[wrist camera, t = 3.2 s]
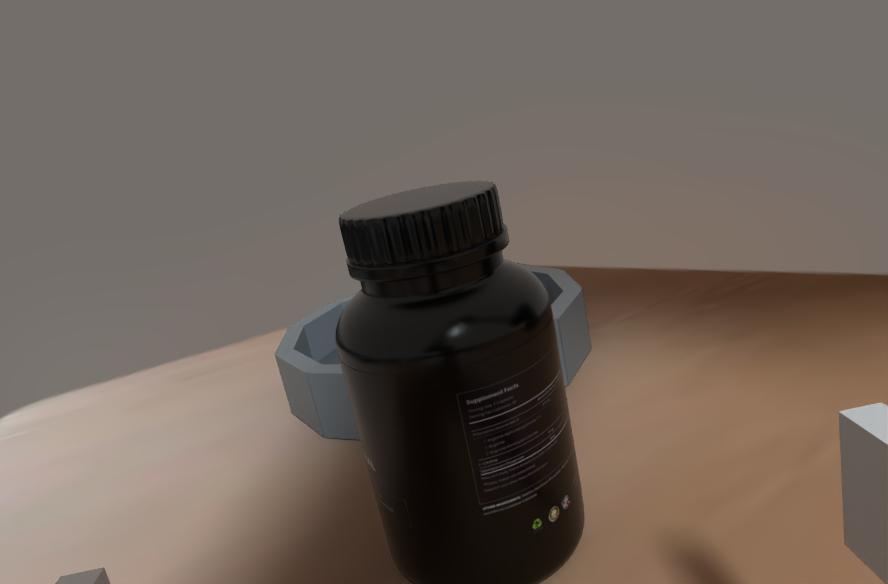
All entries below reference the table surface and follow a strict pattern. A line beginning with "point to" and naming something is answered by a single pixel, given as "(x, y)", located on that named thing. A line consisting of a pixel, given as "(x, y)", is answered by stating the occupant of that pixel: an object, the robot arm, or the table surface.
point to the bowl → (320, 374)
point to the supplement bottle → (458, 390)
